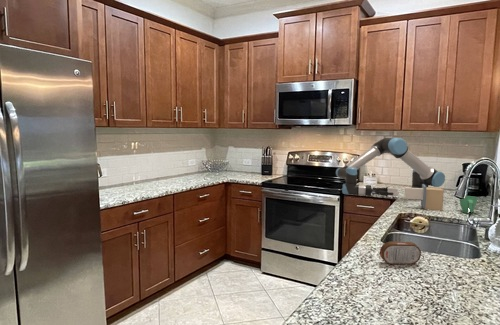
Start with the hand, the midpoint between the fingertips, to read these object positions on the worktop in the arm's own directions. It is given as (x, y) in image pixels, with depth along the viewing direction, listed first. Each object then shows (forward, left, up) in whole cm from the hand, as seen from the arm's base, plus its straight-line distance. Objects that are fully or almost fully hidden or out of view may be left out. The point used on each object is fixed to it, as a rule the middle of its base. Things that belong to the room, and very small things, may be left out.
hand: (398, 192), depth 226 cm
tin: (+80, +75, -10) cm, 110 cm away
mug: (-27, +31, -10) cm, 42 cm away
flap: (-9, +6, -9) cm, 14 cm away
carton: (-18, +13, -10) cm, 24 cm away
